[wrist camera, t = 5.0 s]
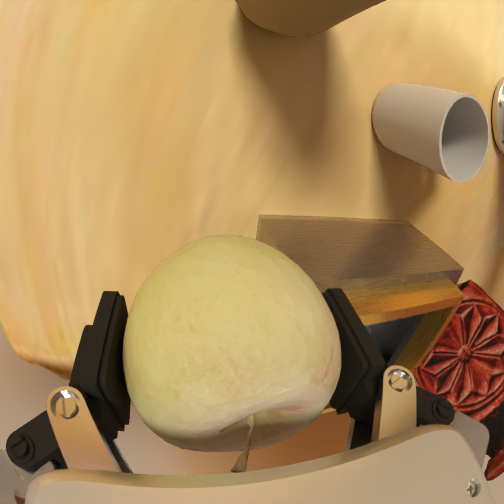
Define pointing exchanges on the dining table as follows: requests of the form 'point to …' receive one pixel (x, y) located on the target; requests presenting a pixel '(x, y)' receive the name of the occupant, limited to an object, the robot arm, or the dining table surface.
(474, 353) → the vase
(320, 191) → the dining table surface
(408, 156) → the cup
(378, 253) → the box
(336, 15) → the squeeze bottle
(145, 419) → the fruit
